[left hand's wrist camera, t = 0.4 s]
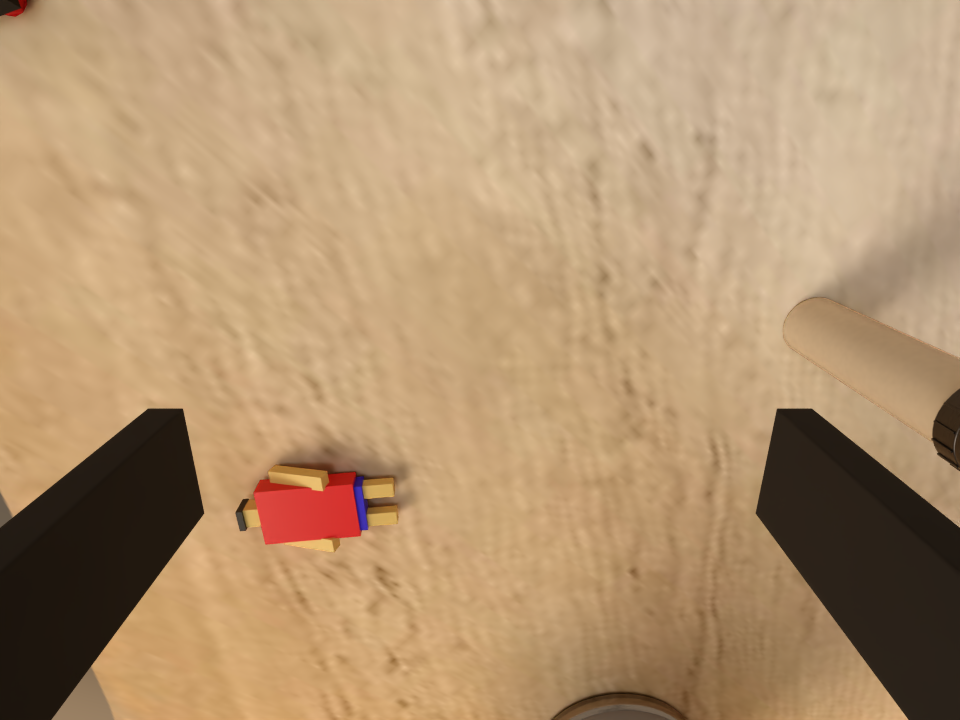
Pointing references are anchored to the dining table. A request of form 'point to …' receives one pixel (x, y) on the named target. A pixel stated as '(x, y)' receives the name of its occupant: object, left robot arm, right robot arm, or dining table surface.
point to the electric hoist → (12, 7)
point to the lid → (948, 430)
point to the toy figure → (315, 507)
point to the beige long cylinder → (875, 360)
